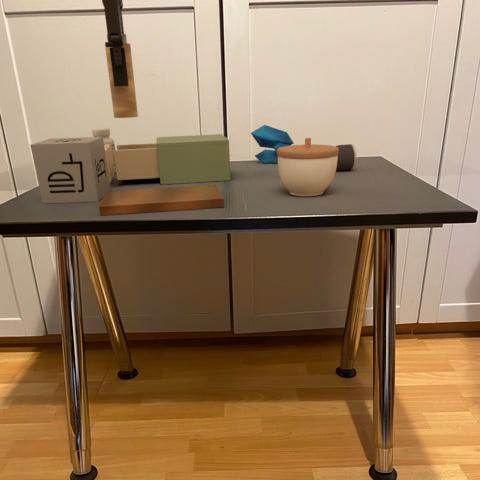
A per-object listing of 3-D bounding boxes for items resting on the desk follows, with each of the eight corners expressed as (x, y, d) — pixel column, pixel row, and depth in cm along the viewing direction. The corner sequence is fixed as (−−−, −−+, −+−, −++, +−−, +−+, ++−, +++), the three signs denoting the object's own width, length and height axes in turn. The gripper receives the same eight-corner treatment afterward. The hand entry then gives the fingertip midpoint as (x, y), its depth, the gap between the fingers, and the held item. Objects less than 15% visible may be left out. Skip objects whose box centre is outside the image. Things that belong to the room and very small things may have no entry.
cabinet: (160, 184, 99) (156, 143, 96) (160, 174, 110) (156, 137, 107) (230, 180, 101) (229, 139, 97) (223, 171, 112) (221, 134, 109)
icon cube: (98, 201, 86) (88, 142, 82) (42, 203, 86) (30, 144, 82) (110, 190, 95) (102, 136, 91) (60, 192, 95) (50, 138, 91)
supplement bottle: (96, 171, 118) (89, 128, 113) (118, 170, 118) (113, 127, 114) (94, 175, 113) (87, 130, 108) (117, 173, 114) (111, 129, 109)
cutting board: (100, 215, 77) (98, 206, 76) (107, 199, 88) (106, 191, 87) (224, 207, 79) (223, 198, 79) (216, 192, 90) (215, 184, 89)
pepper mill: (113, 118, 96) (102, 33, 89) (115, 116, 100) (104, 35, 94) (137, 117, 96) (128, 33, 90) (138, 116, 101) (129, 35, 94)
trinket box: (278, 200, 83) (279, 142, 79) (275, 188, 92) (275, 136, 88) (341, 198, 83) (344, 140, 78) (331, 186, 92) (333, 134, 88)
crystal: (298, 134, 114) (250, 123, 115) (290, 171, 118) (242, 160, 119) (300, 131, 121) (254, 121, 121) (291, 166, 125) (247, 156, 125)
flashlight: (288, 176, 103) (289, 150, 101) (281, 172, 108) (281, 147, 106) (355, 171, 106) (357, 145, 104) (345, 167, 111) (347, 142, 108)
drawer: (82, 184, 97) (77, 151, 95) (89, 175, 107) (84, 145, 105) (171, 179, 100) (168, 147, 97) (170, 170, 110) (167, 141, 107)
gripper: (123, -74, 78) (140, 85, 88) (129, -47, 94) (142, 85, 104) (76, -75, 77) (98, 86, 87) (90, -47, 93) (107, 86, 103)
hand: (122, 85), depth 96 cm, fingers closed on pepper mill, 5 cm apart
